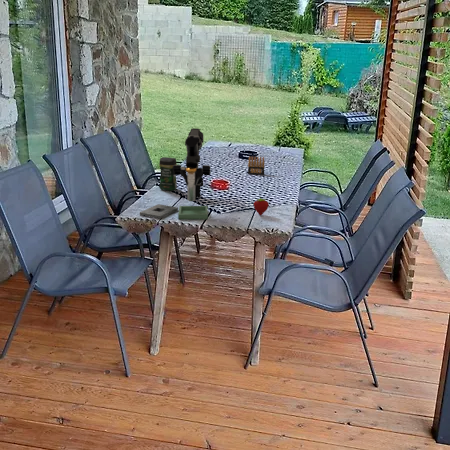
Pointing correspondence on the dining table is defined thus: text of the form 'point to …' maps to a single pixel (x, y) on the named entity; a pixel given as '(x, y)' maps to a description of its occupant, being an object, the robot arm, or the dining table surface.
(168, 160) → the coffee jar
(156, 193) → the dining table surface
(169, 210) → the plate
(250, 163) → the ammunition clip
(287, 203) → the dining table surface
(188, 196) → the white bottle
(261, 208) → the strawberry
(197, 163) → the robot arm
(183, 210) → the parts tray
